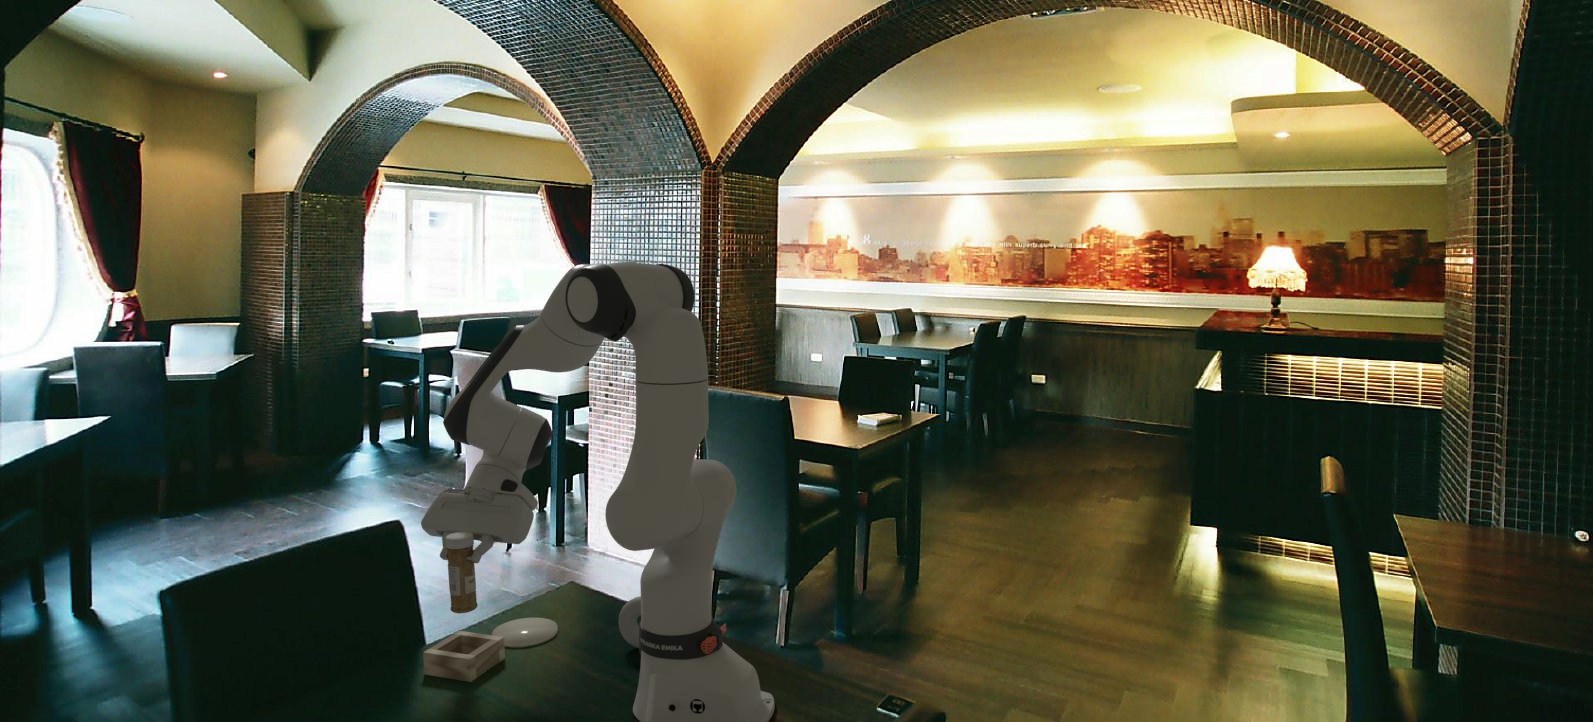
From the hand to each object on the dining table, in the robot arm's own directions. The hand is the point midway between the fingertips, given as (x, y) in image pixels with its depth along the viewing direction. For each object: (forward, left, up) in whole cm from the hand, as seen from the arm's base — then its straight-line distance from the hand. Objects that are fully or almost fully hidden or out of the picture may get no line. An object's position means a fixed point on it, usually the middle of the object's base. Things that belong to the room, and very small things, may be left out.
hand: (458, 560), depth 157 cm
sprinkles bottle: (0, -1, -9) cm, 9 cm away
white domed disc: (-2, -16, -20) cm, 25 cm away
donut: (-27, -17, -20) cm, 37 cm away
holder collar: (0, -1, -20) cm, 20 cm away
